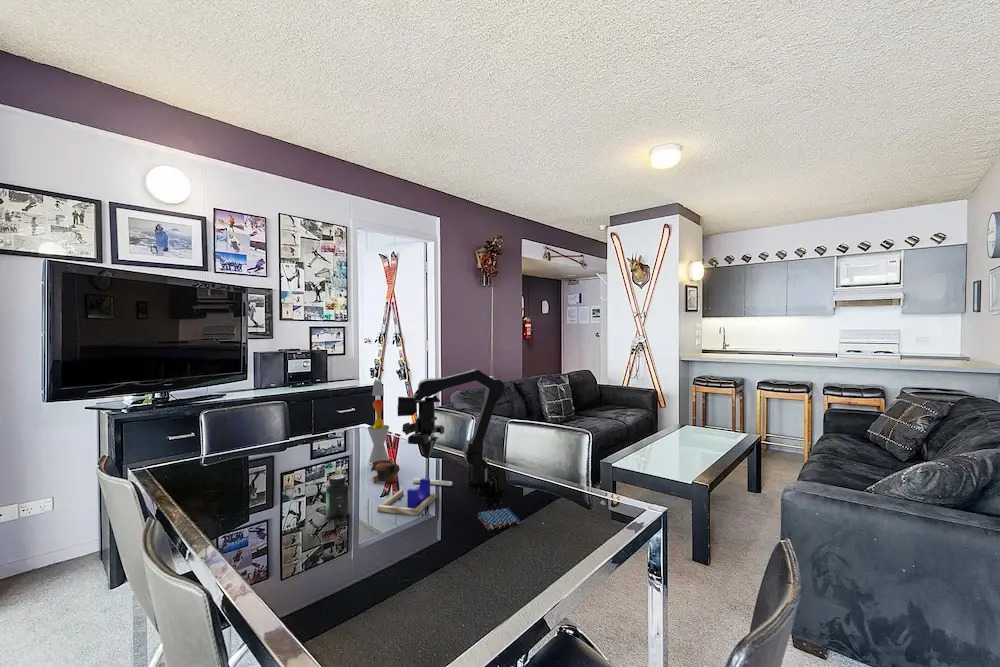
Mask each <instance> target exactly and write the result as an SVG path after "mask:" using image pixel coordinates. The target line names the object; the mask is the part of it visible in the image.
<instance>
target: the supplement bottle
mask: <svg viewBox="0 0 1000 667" xmlns="http://www.w3.org/2000/svg"><path fill="white" fill-rule="evenodd" d="M346 482H347V478H346V475H345V474H343V473H342V474H341V473H339V474H333V475H331V476H329V477H328V484H329V485H328V486H326V488H325V511H326V512H325V515H326V518H328V519H329V518H330V520H338V519H337V518H341V517H344V516H346V515H348V514H349V515H350V508H351V507H350V505H351V504H350V502H351V501H350V485H349V484H348V483H346ZM349 515H348V516H349ZM346 517H347V516H346ZM344 518H345V517H344ZM341 519H342V518H341Z"/></svg>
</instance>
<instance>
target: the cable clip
mask: <svg viewBox="0 0 1000 667" xmlns="http://www.w3.org/2000/svg"><path fill="white" fill-rule="evenodd" d="M419 479H420V483H419V486H417V487H416V488H408V489H407V490H406V493H407V494H406V495H407V498H406V499H407V508H414V509H415V508H416V507H417V506H418V505H419V504H421V503H422V502H423V501H424V500H425V499H426V498H428V497H429V496H430V495H431V484H430V480H431V478H419Z"/></svg>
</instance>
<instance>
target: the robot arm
mask: <svg viewBox="0 0 1000 667" xmlns="http://www.w3.org/2000/svg"><path fill="white" fill-rule="evenodd" d="M472 382H478V383H480V384H481V385H483V386H484V387H485V388H484V399H483V403H482V407H481V410H480V412H479V415H478V419H477V421H476V425H475V427H474V432H473V434H472V436H471V438H470V439H465V442H464V446H463V448H462V451H463V453H462V456H463V458H464V460H465V461H466V462H467V463H468V465H469V466H468V469H467V472H466V474H467V477H466V478H467V479H466V480H467V481H466V482H467V483H466V485H467V486H473V485H483V484H485V483H486V481H487V479H488V465H489V463H488V462H487V461H486V459H485V457H484V456H483V453H484V441H485V437H486V434H487V431H488V429H489V428H488V427H489V425H490V422H491V419H492V416H493V413H494V410H495V406H496V405H497V403H498V402H499V400H500V399H501V397H502V395H503V393H504V392H505V388H506V386H505V383H504V382H503V381H502V380H501V379H499V378H495V377H490V376H488V374H485V373H483V372H482V371H481V370H479V369H477V368H473V369H471V370H468V371H463V372H460V373H457V374H453V375H449V376H444V377H441V378H440V377H439V378H436V377H435V378H433V377H432V378H425V379H422V380H420V381H419V383H418V385H417V389H416V391H415V392H414V394H413V395H412V396H397V405H396V406H397V411H396V412H397V417H411V416H415V415H414V414H416V413H417V412H418V417H417V418H416V419H415V422H412V423H410V422H406V423H403V424H402V430H401V431H402V432H403V433H404V434H405V436H407V444H408V445H420V446H421V449H422V452H423V456H424V458H425V459H430V457H431V454H432V452H433V449H434V447H435V445H436V443H437V441H438V439H439V437H438V436H436V435H435V434H436V433H437V434H438V433H439V435H444V433H445V427H444V426H443V425H440V424H436V421H437V419H438V416H436V415H435V414H436V413H435V412H436V408H435V407H436V405H435V404H436V403H440V402H441V400H440V398H438V397H437V395H436V394H437V393H438V394H439V393H440V392H442V391H443V390H446V389H449V388H453V387H458V386H460V385H464V384H468V383H472ZM409 434H411V435H409ZM408 435H409V436H408Z"/></svg>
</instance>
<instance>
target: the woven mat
mask: <svg viewBox="0 0 1000 667" xmlns="http://www.w3.org/2000/svg"><path fill="white" fill-rule="evenodd" d="M476 517H477V520H479V521H480V523H482V524H484V525H482V527H484V528H485V529H486V528H487V529H489V530H494V529H495V528H498V527H499V528H498V529H501V528H502V526H504V527H506V526H505V525H507V526H508V524H509V525H511V523H512V524H514V523H517V524H519V525H520V522H521V521H520V518H519V517H518V516H517V515H516V514H515V513H514V512H513V511H512V510H511V509H510V508H509V507H507V508H501V509H496V510H495V509H493V510H487V511H482V512H481V511H479V512H478V513H477V514H476ZM513 522H514V523H513ZM514 525H515V524H514ZM500 527H501V528H500ZM487 529H486V530H487Z"/></svg>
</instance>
